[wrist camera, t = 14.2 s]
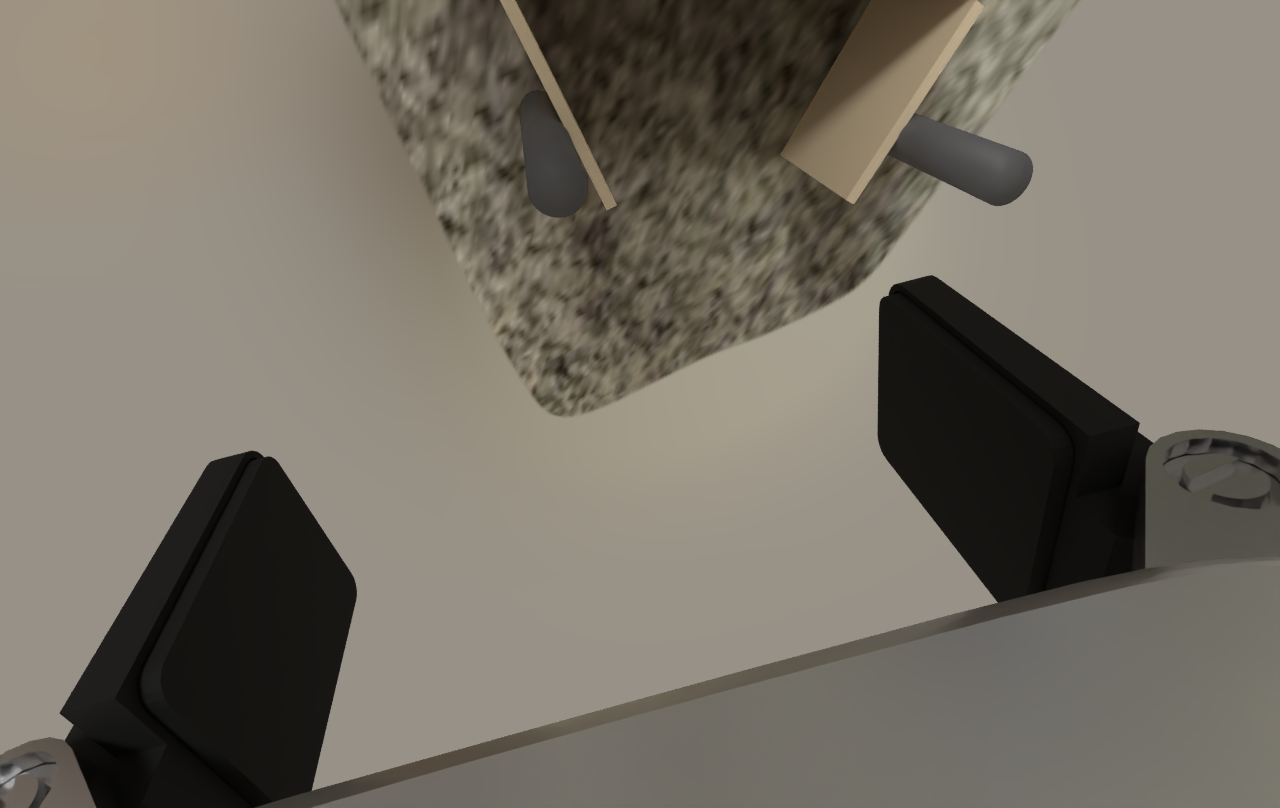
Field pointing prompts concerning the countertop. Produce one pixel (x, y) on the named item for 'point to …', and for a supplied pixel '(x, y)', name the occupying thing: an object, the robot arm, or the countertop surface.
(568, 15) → the countertop surface
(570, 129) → the flap
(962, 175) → the flap
